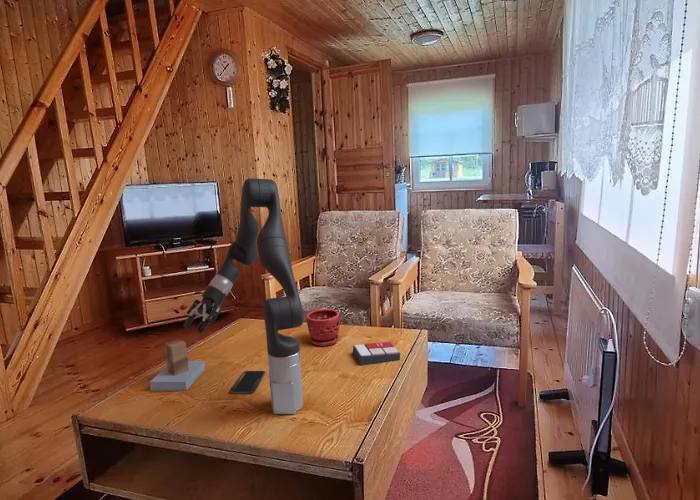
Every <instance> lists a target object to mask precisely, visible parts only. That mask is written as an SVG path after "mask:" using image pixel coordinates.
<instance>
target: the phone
mask: <svg viewBox="0 0 700 500" xmlns="http://www.w3.org/2000/svg"><path fill="white" fill-rule="evenodd" d="M265 376H266V371H265V370H245V371H243V372H242V373H241V375H240V376H239V378H238V379H237V380H236V382H235V383H234V384H233V385H232V387H231V388H230V390H229V393H230V394H231V395H252V394H254V393H255V392H256V391H257V389H258V387H259V386H260V384H261V382H262V380H263V379H264V377H265Z"/></svg>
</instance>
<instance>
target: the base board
mask: <svg viewBox="0 0 700 500" xmlns="http://www.w3.org/2000/svg"><path fill="white" fill-rule="evenodd" d="M188 367H189V370H188V371H186V372H183V373H180V374H178V375H173V374H171V373H170V372H168V369H167V365H166V366H165V367H164V368H163V369H162V370H161V371H160V372H158V373H157V374H156V375H155V376H154V377H153V378H152V379H151V380H150V381H149V387H150V391H154V392H155V391H158V392H159V391H160V392H161V391H166V392H167V391H169V392H170V391H178V392H179V391H188V389H190V387H191V386H192V385H193V384H194V383H195V381H196V380H197V379H198V378H199V377H200V375H202V373H203V372H204V371H205V369H206V365H205V360H188Z"/></svg>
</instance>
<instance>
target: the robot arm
mask: <svg viewBox="0 0 700 500" xmlns="http://www.w3.org/2000/svg"><path fill="white" fill-rule="evenodd" d="M251 208H266V209H267V210H268V215H267V218H266V221H265V222H264V224H263V226H262V228H261V229H260V227H259V223H258V221H257V219H256V218H255V216H254V215H253V213H252V210H251ZM239 213H240V214H239V223H238V229H237V233H236V236H235V237H236V238H235V240H234V241H233V242H231V243H230V245H229V247H228V249H227V253H226V255H225V256H226V257H225V260H224V261H223V263H222V265H221V266H220V268H219V270H218V271H217V273H216V274H215V276H214V277H213V278H212V279H211V280H210V282H209V283H208V285H207V287H206V288H205V290H204V291H203V292H202V294H201V297H202V299H201V300H199V299H195V300H194V301H193V303H192V304H191V306H190V307H189V309H188V310H187V311H186V314H187V315H188V317H187V318H186V320H185V321H184V323H183V325H182V327H184V328H185V329H189V328H190V327H191V325H192V324H193V322H194V321H195V320H196V318H198V317H201V316H202V320H201V321H200V322H199V325H198V326H197V328H196V330H195V331H196V332H197V333H198V334H203V332H204V331H205V329H206V327H207V326H208V325H210V324H211V325H213V324H214V323H215V321H216V320H217V318H218V316H219V315H220V313H221V311H222V308H221V306H222V304H223V302H224V301H225V299H226V297H227V296H228V295H229V293H230V292H231V290H232V287H233V286H234V284H235V283H236V281H237V279H238V278H239V277H240V274H241V270H240V269H239V268H238V266H237V265H235V264H234V263H233V261H236V262H238V263H240V264H241V265H243V266H251V265H252V264H254V263H255V261H256V259H257V255H258V260H259V262H260V264H261V265H262V266H263V268H264V269H265V270H266V271H267V272H268V273H269V275H270V276H272V277H273V278H274V279H275V280H276V281H277V282H278V283H279V285H280V287H282V290H283V292H284V295H285V296H278V297H272V298H267V299H265V300H264V302H263V307H262V308H263V310H262V311H263V320H264V325H265V326H264V327H265V335H266V346H267V347H266V349H267V360H268V365H267V366H268V377H269V389H270V391H269V392H270V400H271V401H270V403H271V410H272V411H273V415H295V414H296V412H298V411H300V410H301V409H302V408H303V406H304V398H303V397H304V396H303V383H302V379H303V378H302V366H301V363H302V362H301V350H300V349H301V348H300V341H299V340H298V339H297V338H296V337H293V336H289V335H285V334H281V333H280V332H279V331H282V330H289V329H296V328H299V327H301V326H302V325H303V323H304V318H305V317H304V310H303V309H304V308H303V306H302V302H301V301H302V300H301V298H300V295H299V294H300V293H299V290H298V287H297V284H296V280H295V275H294V271H293V266H292V261H291V256H290V249H289V245H288V240H287V235H286V232H285V228H284V222H283V218H282V211H281V203H280V193H279V189H278V185H277V183H276V181H275V180H273V179H270V178H269V179H268V178H255V177H254V178H253V177H251V178H245V180H244V182H243V184H242V189H241V197H240V211H239ZM259 229H260V231H259Z"/></svg>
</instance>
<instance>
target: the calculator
mask: <svg viewBox="0 0 700 500" xmlns="http://www.w3.org/2000/svg"><path fill="white" fill-rule="evenodd" d="M352 356H353V357H354V358H355V360H356V362H357V363H358V365H359V366H360V367H361V366H368V365H373V364H383V363H390V362H391V361H392V362H399V361H401V353H400V352H399V350H398V349H397V348H396V347H395V346H394V345H393V343H392V342H390V341H385V342H383V341H382V342H381V341H380V342H371V343H365V344H354V345H352Z"/></svg>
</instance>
